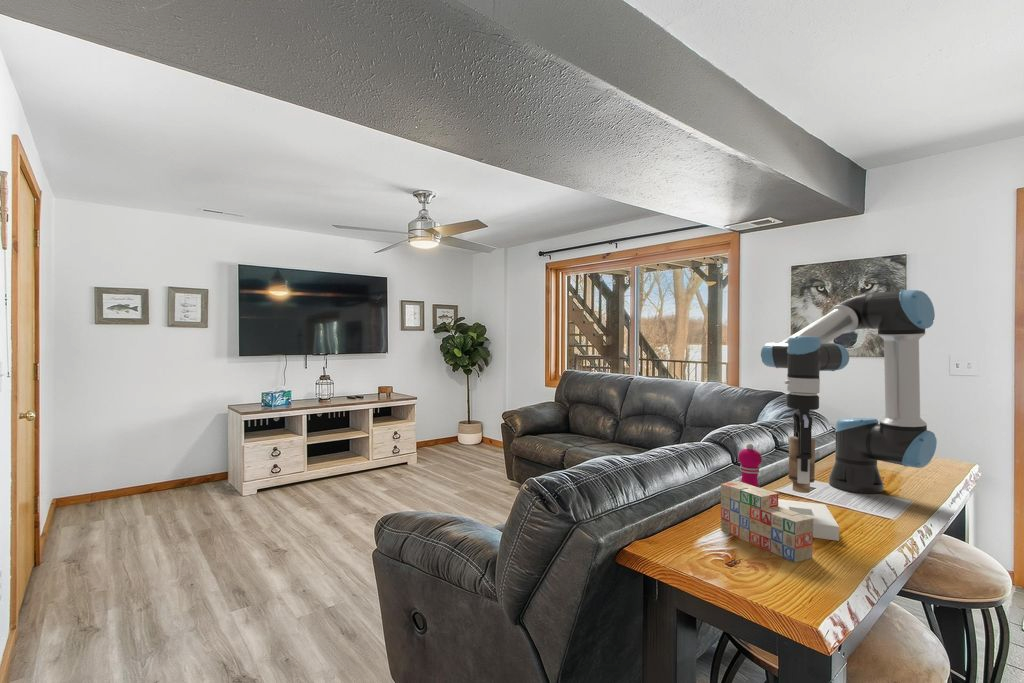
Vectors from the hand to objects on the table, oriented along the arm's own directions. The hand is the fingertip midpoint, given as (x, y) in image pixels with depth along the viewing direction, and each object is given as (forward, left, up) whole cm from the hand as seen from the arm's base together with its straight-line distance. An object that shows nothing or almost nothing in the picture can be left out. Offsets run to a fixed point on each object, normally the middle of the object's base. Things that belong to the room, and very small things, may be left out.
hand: (801, 479), depth 136 cm
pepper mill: (+12, -3, -12) cm, 18 cm away
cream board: (0, 0, -12) cm, 12 cm away
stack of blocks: (+10, +17, -12) cm, 24 cm away
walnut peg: (0, 0, -3) cm, 3 cm away
